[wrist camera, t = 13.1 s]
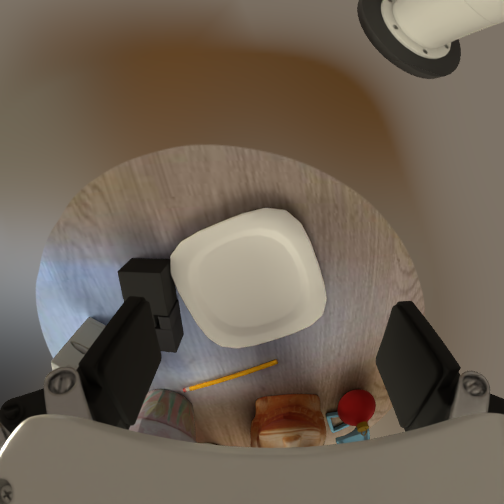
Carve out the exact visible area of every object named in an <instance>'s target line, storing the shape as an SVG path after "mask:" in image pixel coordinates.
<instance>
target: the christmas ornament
mask: <svg viewBox="0 0 504 504" xmlns="http://www.w3.org/2000/svg"><path fill="white" fill-rule="evenodd" d="M375 407H376V403H375V399H374V397H373V396H372V395H371V394H370V393H369V392H367V391H365V390H361V389H356V390H352V391H349V392H348V393H346V394H345V395H344V396H343V397H342V398H341V399H340V401H339V404H338V408H337V411H338V416H339V418H340V419H341V420H342V421H343V422H344V423H345V424H348V425H351V426H356V427H357V431H358V432H361V435H362V436H365V435H366V434H367V429H368V428H369V426H368V423H367V422H368V420H369V419H370V418H371V417H372V416H373V414H374V412H375ZM364 431H366V433H365V435H363V434H362V432H364Z"/></svg>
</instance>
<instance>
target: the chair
mask: <svg viewBox="0 0 504 504" xmlns="http://www.w3.org/2000/svg"><path fill="white" fill-rule="evenodd" d="M332 417H339V416H338V412H331V413H327V414H326V418H327V421H328V423H329V426H330V429H331V432H332V433H334V432H337V431H339V430H342V429H344V428H346V427H348V426H350V425H348V424H345V423H344V424H342V425H340V426H337V427H335V428H333V425H332V422H331V419H330V418H332ZM365 433H366V431H364V432H362V434H363V435H365ZM369 439H370V433H369V428H368V429H367V434H366V435H365V436H362V435H361V432H358V431H357V427H356V428H355V429H354V430H353V431H352V432H350V433H349V434H347V435H345V436H341V437H338V438H336V442H337V444H342V443H349V442H356V441H363V440H369Z"/></svg>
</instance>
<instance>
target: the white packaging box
mask: <svg viewBox="0 0 504 504" xmlns="http://www.w3.org/2000/svg"><path fill="white" fill-rule="evenodd" d="M105 327H106V325H104V324H102V323H100V322H98V321H96V320H94V319H93V318H91V317H89V318H88V319H87V320H86V321H85V322H84V323H83V324H82V325H81V327H80V328H79V329H78V330H77V331H76V332H75V333H74V335H73V336H72V337H71V338H70V339H69V341H68V342H67V343H66V344H65V345H64V346H63V348H62V349H61V350H60V351H59V352H58V354H57V355H56V356H55V357H54V359H53V360H52V361H51V365H52V370H54V369H57V368H59V367H71V368H73V369H75V370H77V368H78V367H79V365H78V364H79V362H80V361H81V359H82V358H83V357H84V355H85V354H86V352H87V351H88V350H89V348H90V347H91V345H92V344H93V343H94V341H95V340H96V339H97V337H98V336H99V335H100V333H101V332H102V331H103V329H104V328H105Z"/></svg>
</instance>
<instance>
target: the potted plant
mask: <svg viewBox="0 0 504 504" xmlns="http://www.w3.org/2000/svg"><path fill="white" fill-rule="evenodd" d="M129 430H131V431H135V432H139V433H144V434H149V435H154V436H158V437H163V438H169V439H174V440H180V441H187V442H194V443H197V442H196V435H195V422H194V410H193V407H192V404H191V403H190V402H189V401H188V400H187V399H186V398H185V397H184V396H182V395H180V394H178V393H175V392H173V391H170V390H165V389H155V390H152V391H150V392H149V393H147V395H146V398H145V400H144V403H143V405H142V408H141V410H140V413H139V415H138V418H137V420H136V423H135V424H134V425H133V426H132V425H131V426H130V428H129Z"/></svg>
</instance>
